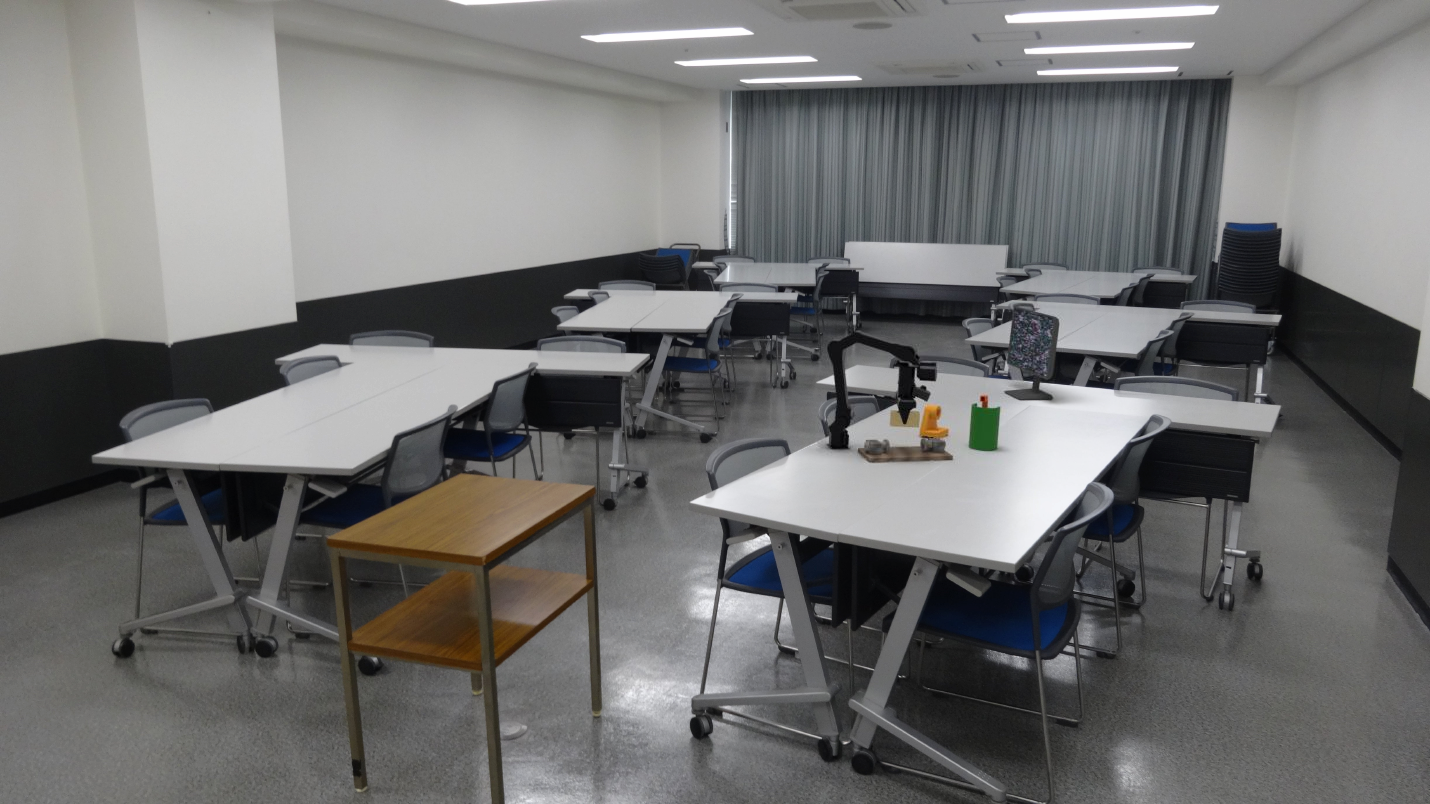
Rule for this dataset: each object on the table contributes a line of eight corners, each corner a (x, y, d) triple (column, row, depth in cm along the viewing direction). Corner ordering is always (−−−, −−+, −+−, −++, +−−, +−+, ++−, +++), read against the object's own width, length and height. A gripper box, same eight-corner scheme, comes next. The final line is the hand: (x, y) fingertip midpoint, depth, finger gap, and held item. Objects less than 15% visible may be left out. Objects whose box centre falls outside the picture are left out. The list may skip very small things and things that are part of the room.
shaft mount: (870, 462, 327) (870, 445, 325) (857, 452, 340) (858, 435, 339) (952, 459, 331) (953, 442, 330) (937, 449, 345) (938, 433, 344)
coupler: (918, 424, 339) (918, 411, 338) (919, 427, 335) (919, 413, 334) (889, 423, 340) (890, 410, 339) (890, 426, 336) (891, 412, 335)
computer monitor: (992, 387, 464) (999, 305, 456) (1024, 387, 466) (1031, 305, 458) (1031, 406, 422) (1039, 316, 413) (1066, 406, 423) (1074, 316, 415)
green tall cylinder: (998, 446, 351) (1002, 393, 346) (994, 452, 343) (998, 397, 339) (970, 443, 355) (974, 390, 351) (966, 448, 347) (970, 395, 343)
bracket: (936, 440, 359) (938, 409, 356) (919, 437, 363) (921, 406, 361) (949, 435, 367) (951, 404, 365) (931, 432, 372) (933, 402, 369)
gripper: (932, 385, 324) (929, 429, 327) (927, 375, 342) (925, 417, 345) (899, 384, 325) (897, 428, 329) (895, 374, 344) (893, 416, 347)
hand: (904, 422), depth 337 cm, fingers closed on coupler, 4 cm apart
